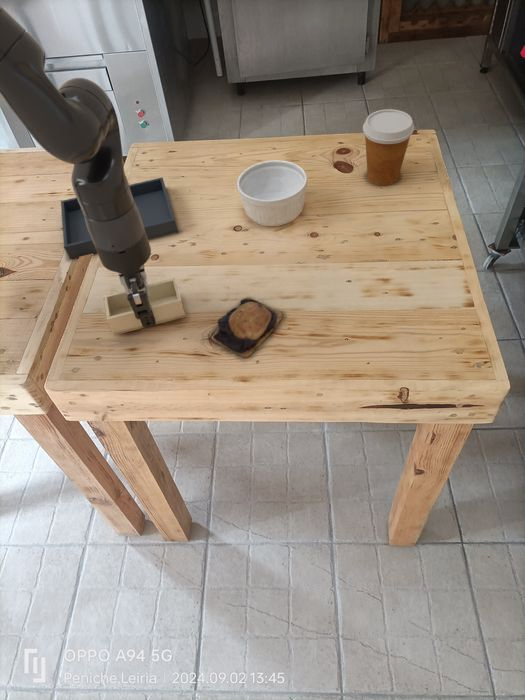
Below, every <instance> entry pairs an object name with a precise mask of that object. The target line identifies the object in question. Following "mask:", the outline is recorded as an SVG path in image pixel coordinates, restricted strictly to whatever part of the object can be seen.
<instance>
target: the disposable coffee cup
mask: <svg viewBox="0 0 525 700" xmlns="http://www.w3.org/2000/svg"><path fill="white" fill-rule="evenodd" d="M362 131H363V133H364V138H365V139H364V141H365V157H366V174H367V179H368V181H369V182H370V183H372V184H374V185H376V186H390V185H393V184H395V183H396V182H397V181H398V180H399V177H400V175H401V170H402V166H403V163H404V160H405V157H406V152H407V148H408V145H409V141H410V137H411V136H412V134H413V133H414V131H415V125H414V122H413V118H412V116H411V115H410V114H408V113H407V112H405V111H402V110H399V109H391V108H388V109H387V108H386V109H380V110H376V111H374V112H371V113H370V114H369V115H368V116H367V117H366V119H365V122H364V123H363V125H362Z"/></svg>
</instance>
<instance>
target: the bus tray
mask: <svg viewBox="0 0 525 700" xmlns="http://www.w3.org/2000/svg"><path fill="white" fill-rule="evenodd" d="M129 186H130V189H131V193H132V196H133V199H134V202H135V204H136V206H137V208H138V210H139V212H140V215H141V218H142V222H143V225H144V228H145V231H146V234H147V238H148V241H149V240H152V239H153V240H154V239H157V238H162V237H165V236H169V235H173V234H177V233H179V229H178V226H177V225H178V224H177V221H176V219H175V214H174V211H173V208H172V204H171V202H170V198H169V195H168V194H169V193H168V191H167V187H166V183H165V181H164V178H163V176H162V177H157V178H152V179H149V180H144V181H141V182H136V183H133V184H129ZM60 209H61V223H62V224H61V225H62V237H63V248H64V251H65V252H66V254H67V256H68V258H69V260H72V259H76V258H80V257H81V258H82V257H84V256H88V255H92V254H98V253H97V250H96V248H95V246H94V243H93V241H92V239H91V236H90V234H89V231H88V229H87V226H86V222H85V218H84V215H83V212H82V209H81V207H80V205H79V202H78V200H77V197H76V196H75V197H73V198H68V199H64V200H60Z"/></svg>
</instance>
